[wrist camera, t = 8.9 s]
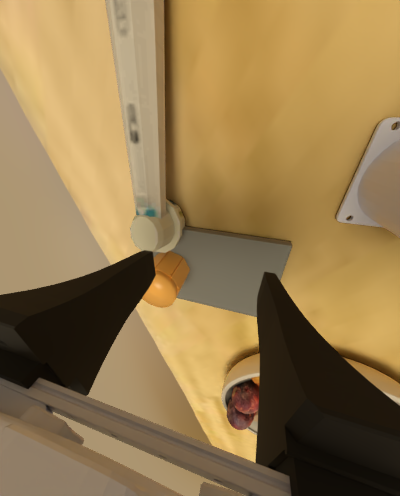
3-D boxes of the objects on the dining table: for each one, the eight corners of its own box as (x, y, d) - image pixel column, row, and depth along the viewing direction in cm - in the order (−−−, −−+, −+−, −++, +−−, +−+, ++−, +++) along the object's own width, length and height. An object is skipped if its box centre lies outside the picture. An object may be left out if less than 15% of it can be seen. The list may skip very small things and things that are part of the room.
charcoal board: (290, 241, 19) (298, 265, 16) (266, 313, 26) (267, 342, 22) (143, 220, 23) (122, 234, 20) (153, 287, 30) (138, 308, 26)
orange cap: (193, 261, 23) (179, 287, 19) (183, 286, 26) (169, 313, 22) (159, 245, 23) (138, 267, 19) (152, 271, 26) (133, 295, 22)
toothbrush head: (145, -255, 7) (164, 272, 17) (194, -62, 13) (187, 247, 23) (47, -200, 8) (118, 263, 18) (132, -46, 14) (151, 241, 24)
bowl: (444, 346, 21) (528, 437, 15) (398, 444, 34) (432, 516, 27) (208, 333, 32) (196, 381, 26) (240, 410, 45) (237, 456, 38)
